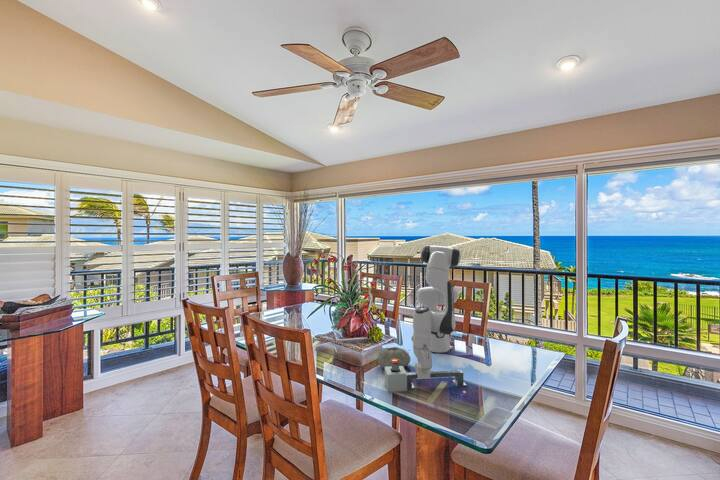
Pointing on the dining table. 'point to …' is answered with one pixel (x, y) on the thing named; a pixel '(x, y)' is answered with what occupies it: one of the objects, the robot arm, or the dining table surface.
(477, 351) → the dining table surface
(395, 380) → the push button box
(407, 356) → the decorative shell
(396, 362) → the button
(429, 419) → the dining table surface
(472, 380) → the dining table surface
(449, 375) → the rail
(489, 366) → the dining table surface
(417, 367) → the carriage
